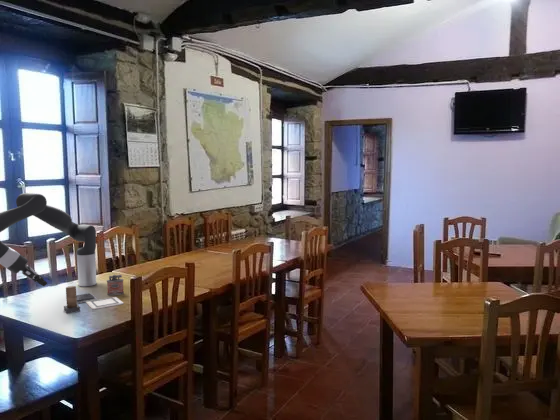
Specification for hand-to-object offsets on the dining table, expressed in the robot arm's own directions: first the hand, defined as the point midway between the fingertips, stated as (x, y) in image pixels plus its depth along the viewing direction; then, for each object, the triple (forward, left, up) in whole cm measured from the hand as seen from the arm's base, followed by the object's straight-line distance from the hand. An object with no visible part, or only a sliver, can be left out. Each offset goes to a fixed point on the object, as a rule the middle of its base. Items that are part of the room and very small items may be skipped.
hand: (44, 282), depth 200 cm
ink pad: (-15, +19, -15) cm, 28 cm away
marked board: (-2, +26, -15) cm, 30 cm away
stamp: (0, +11, -15) cm, 18 cm away
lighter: (-15, +35, -15) cm, 41 cm away
